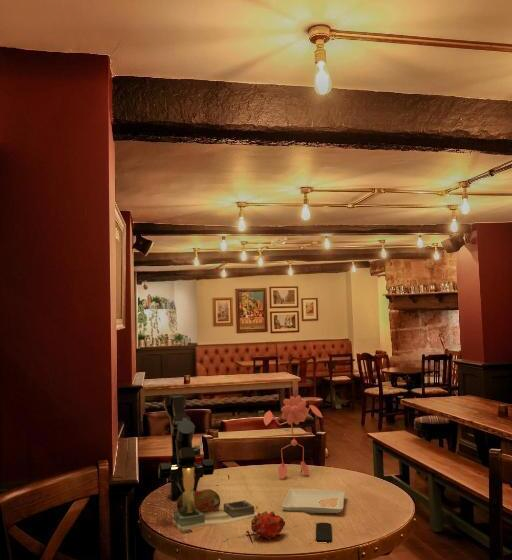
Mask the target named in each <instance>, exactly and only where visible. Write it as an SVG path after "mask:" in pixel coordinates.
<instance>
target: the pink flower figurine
mask: <svg viewBox="0 0 512 560" xmlns="http://www.w3.org/2000/svg"><path fill="white" fill-rule="evenodd" d="M283 404H284V406H282V407H281V409H280V410H281V412H282V413H281V416H280V417H281V419H282V420H285V419H286V421H285V422H282V423H280V421H278V420H277V418H276V417H275V416H274V414H273V413H272V411H271V410H268V411H266V412H265V413H264V415H263V423H264V425H265V426H266V427H267V426H268V425H270V423H271V422H272V420H275V422H276V423H277V424H278V425H279V426H282V425H286V424H288V425H291V426H290V427H291V428H290V429H291V433H292V437H293V439H291V441H290V443H289V444H288V445H286V446H284V447H282V448H281V449H280V453H281V463H280V464H279V466H278V468H277V470H278V475H279V477H280V479H281V480H283V479H284V478H286V476H287V474H288V473H287V472H288V467H287V465H286V464H285V463H284V459H283V458H284V457H283V449H286V448H287V447H289V446H293V447H296V446H297V445H298V446H300V447H302V461H300V467H301V468H300V473H302V474H303V473H304V474H305V475H306V476H307V475H309V476H310V469H309V467H308V465H307V464H306V462H305V461H304V460H305V459H304V458H305V454H304V453H305V452H304V451H305V448H304V447H305V446H303V445H301V444H299V443H298V441H297V440H296V438H295V434H294V429H293V424H295V425H299V424H300V422H303V423H304V422H305V421H306V419H307V416H308V414H309V411H310V410H311V412H312V413H313V414H314V415H316V416H317V417H319V418H321V419H323V415H322V412H321V411H320V410H319V408H318V407H317V406H315V405H314V404H309V406H308V407H306V406H307V401H306V400H302V397H301V395H297V396H296V397H295V396H292V395H291V396H290V397H289V398H285V399H283Z"/></svg>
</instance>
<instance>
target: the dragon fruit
mask: <svg viewBox="0 0 512 560" xmlns="http://www.w3.org/2000/svg"><path fill="white" fill-rule="evenodd" d="M257 514H258V516H255V517H254V518H251V519H252V520H251V521H250V522H251V526H250V528H251V531H252V532H253V533H252V534H253V536H254V537H258V536H259V539H261V540H263V539H264V538H265V539H266V540H269V541H271V540H272V538H279V537H280V536H281V534H280V533H281V532H282V531H283V529H284V527H285V526H286V521H285V519H284V518H282V516H280V515H276V514H275V512H274V511H270V512H269V513H268V511H267V510H265V511H264V512H262V513H261V512H257Z"/></svg>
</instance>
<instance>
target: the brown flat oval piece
mask: <svg viewBox="0 0 512 560" xmlns="http://www.w3.org/2000/svg"><path fill="white" fill-rule="evenodd" d="M220 507H221V497H220V495H219V494H218V492H217V491H215V490H213V489H210V488H208V489H207V488H206V489H197V490H196V492H195V508H197V509H198V510H199V511H200V512H202V513H203V514H204V513H210V512H216V511H219V509H220ZM176 508H177V511H183V494H181V495H180V497H179V498H178V500H176Z"/></svg>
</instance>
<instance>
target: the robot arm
mask: <svg viewBox="0 0 512 560" xmlns="http://www.w3.org/2000/svg"><path fill="white" fill-rule="evenodd" d="M186 400H187V398H186V396H184V394H182V393H178V394H177V393H176V394H175V393H173V394H171V395H170V396H169V395H168V396H167V397H165V398H164V399H163V409H164V410H165V414H166V416H167V417H168V419H169V420H170V422H169V425H170V438H171V457H170V459H169V461H168V462H162V463H159V465H158V479H159V480H165V479H166V482H167V484H170V494H168V495H167V497H168V496H169V497H170V498H171V499H170V498H169V497H168V498H169V499H170V500H172V501H177V500H178V498H179V497H180V495H181V494H183V480H182V468H183V467H187V466H192V467H194V474H195V492H196V491H197V490H198V485H199V481H200V479H202V478H203V477H204V476H210V475H213V474H214V471H215V468H216V467H215V466H216V464H215V463H216V462H215V460H214V459H213V458H210V459H209V458H208V459H202V461H201V463H199V464H197V463H196V461H197V460H196V457H198V456H200V455H201V446H200V445H197V444H196V445H194V446H193V439H194V433H195V431H196V430H197V429H196V425H195V424H194V423H193V422H192V421H191V417H190V416H189V415H187V414H186V410H185V408H186V407H187V403H186V402H187V401H186ZM195 463H196V464H195Z"/></svg>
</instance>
